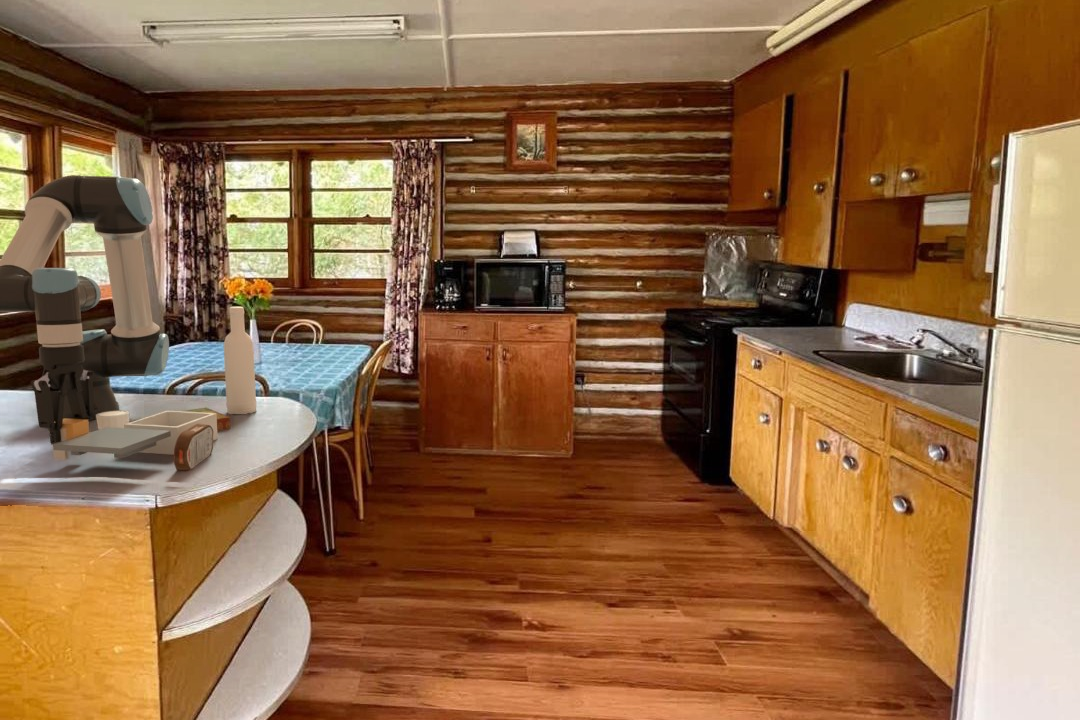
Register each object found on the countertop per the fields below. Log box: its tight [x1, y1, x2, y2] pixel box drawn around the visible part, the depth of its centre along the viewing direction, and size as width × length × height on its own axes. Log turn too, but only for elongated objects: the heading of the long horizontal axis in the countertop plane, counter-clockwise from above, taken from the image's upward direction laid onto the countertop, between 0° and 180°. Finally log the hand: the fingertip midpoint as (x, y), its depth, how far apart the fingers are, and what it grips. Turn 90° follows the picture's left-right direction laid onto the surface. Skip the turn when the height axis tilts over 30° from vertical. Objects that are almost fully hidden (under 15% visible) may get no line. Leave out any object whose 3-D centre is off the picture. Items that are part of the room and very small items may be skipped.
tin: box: [173, 424, 214, 471], centre depth 146 cm, size 15×3×8 cm, turn 5°
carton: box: [182, 407, 231, 432], centre depth 177 cm, size 8×16×4 cm, turn 45°
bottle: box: [223, 306, 257, 415], centre depth 194 cm, size 8×8×30 cm
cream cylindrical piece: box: [95, 410, 130, 430], centre depth 163 cm, size 7×7×7 cm
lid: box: [52, 418, 171, 459], centre depth 141 cm, size 14×20×6 cm
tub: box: [124, 410, 219, 456], centre depth 159 cm, size 13×14×7 cm
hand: (70, 455), depth 143 cm, fingers closed on lid, 4 cm apart
